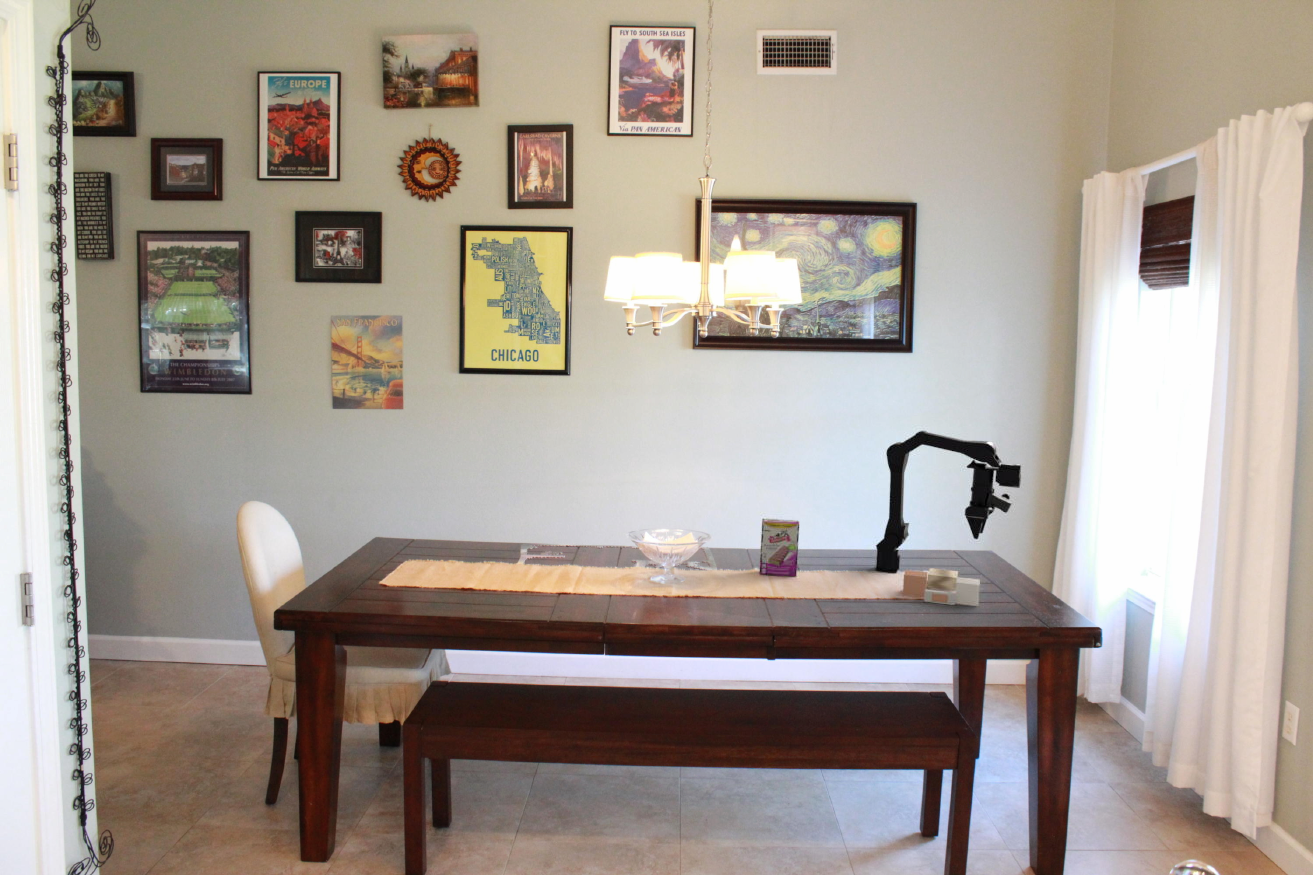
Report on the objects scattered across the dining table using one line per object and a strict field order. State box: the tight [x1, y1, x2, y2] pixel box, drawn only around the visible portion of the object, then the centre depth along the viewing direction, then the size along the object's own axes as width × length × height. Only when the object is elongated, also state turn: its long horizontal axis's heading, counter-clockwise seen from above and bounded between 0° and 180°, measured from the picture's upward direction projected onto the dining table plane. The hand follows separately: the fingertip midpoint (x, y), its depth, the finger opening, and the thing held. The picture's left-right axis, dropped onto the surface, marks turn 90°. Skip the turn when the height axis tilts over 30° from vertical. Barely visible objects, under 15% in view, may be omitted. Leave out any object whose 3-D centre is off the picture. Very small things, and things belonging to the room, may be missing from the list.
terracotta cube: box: [902, 569, 929, 599], centre depth 255 cm, size 6×6×6 cm
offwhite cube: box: [955, 576, 981, 607], centre depth 249 cm, size 6×6×6 cm
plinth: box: [923, 588, 956, 606], centre depth 247 cm, size 8×2×3 cm, turn 70°
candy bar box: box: [759, 518, 800, 577], centre depth 272 cm, size 11×5×16 cm, turn 84°
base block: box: [927, 567, 959, 591], centre depth 265 cm, size 8×8×4 cm
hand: (978, 536), depth 269 cm, fingers open, 9 cm apart
